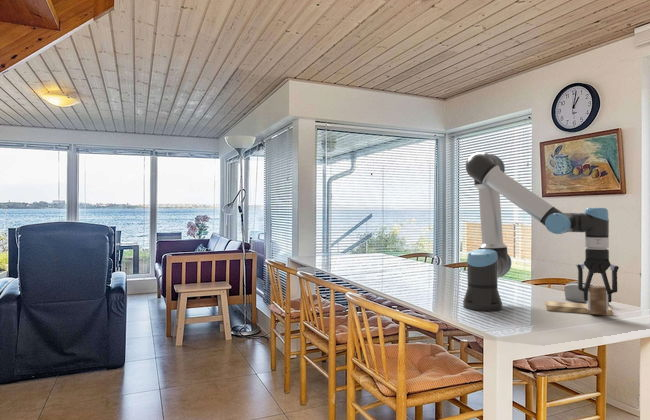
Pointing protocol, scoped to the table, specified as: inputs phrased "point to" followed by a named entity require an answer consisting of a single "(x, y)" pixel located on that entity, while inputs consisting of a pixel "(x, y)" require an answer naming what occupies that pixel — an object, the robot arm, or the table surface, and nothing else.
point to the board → (570, 307)
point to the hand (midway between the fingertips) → (597, 309)
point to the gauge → (597, 300)
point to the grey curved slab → (575, 292)
